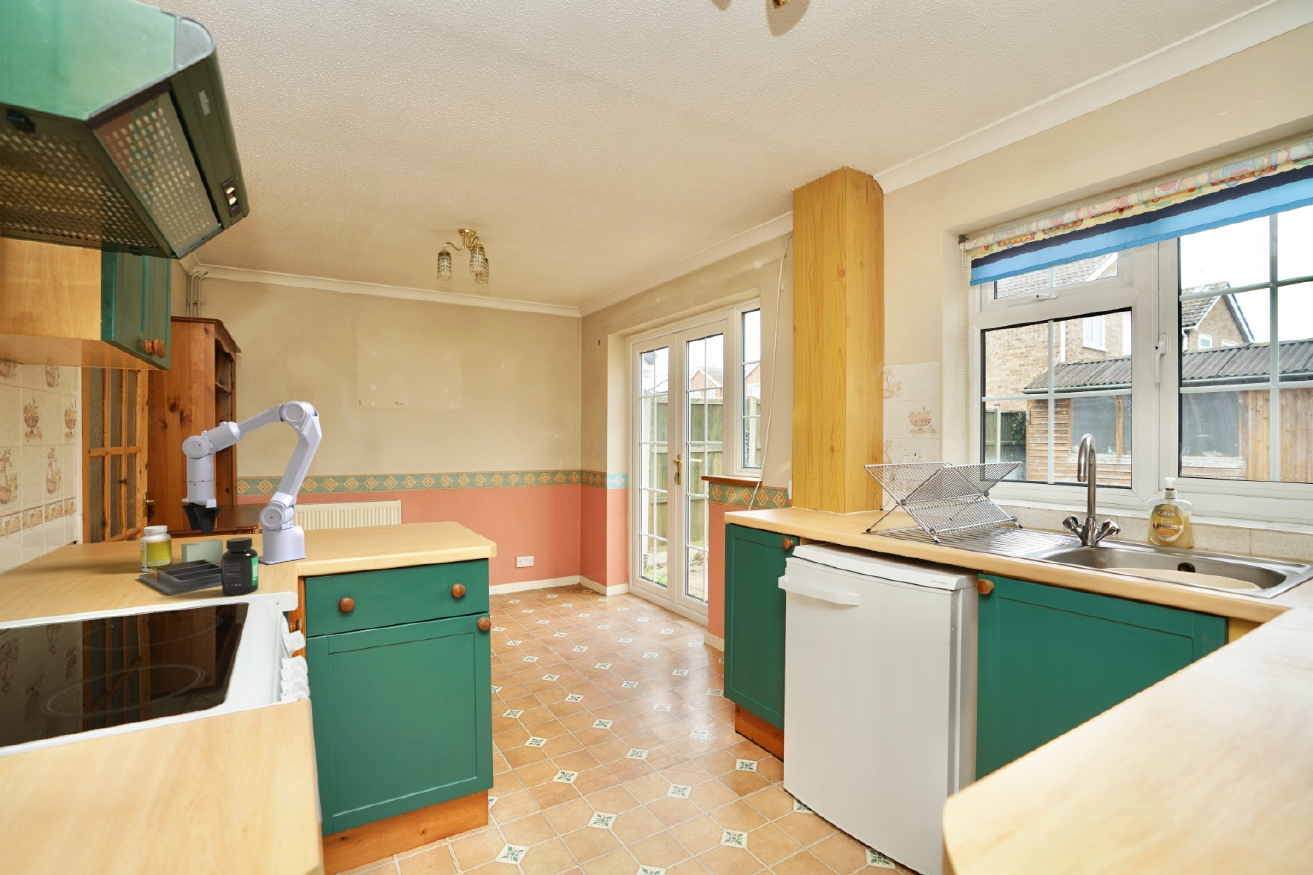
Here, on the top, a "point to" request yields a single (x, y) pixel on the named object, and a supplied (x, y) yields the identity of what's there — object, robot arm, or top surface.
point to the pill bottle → (155, 548)
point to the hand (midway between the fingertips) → (201, 531)
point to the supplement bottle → (239, 567)
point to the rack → (184, 576)
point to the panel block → (203, 551)
